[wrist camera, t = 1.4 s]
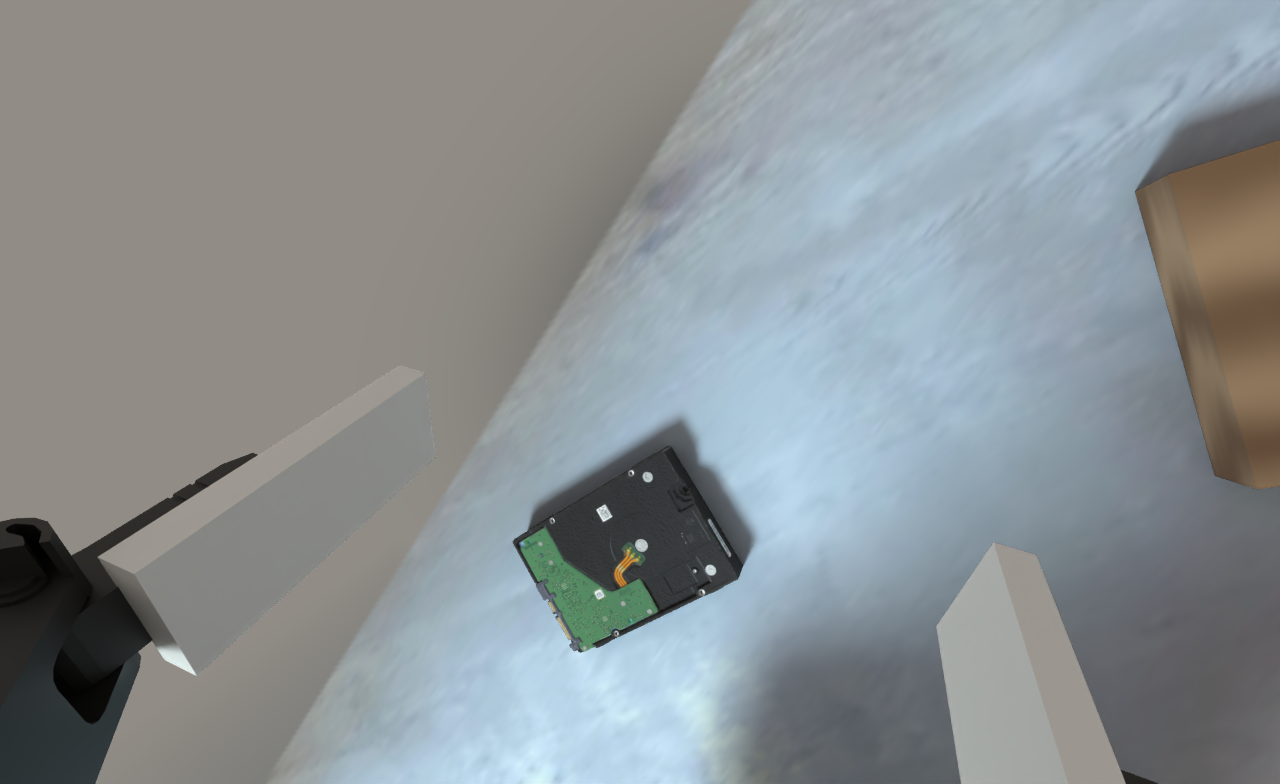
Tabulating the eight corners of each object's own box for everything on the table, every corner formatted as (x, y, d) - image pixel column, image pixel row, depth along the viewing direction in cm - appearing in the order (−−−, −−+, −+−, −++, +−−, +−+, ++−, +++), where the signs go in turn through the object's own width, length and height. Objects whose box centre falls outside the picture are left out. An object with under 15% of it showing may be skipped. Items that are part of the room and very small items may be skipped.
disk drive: (671, 440, 40) (526, 531, 44) (660, 446, 37) (508, 542, 41) (747, 563, 38) (590, 643, 43) (742, 579, 36) (575, 662, 40)
